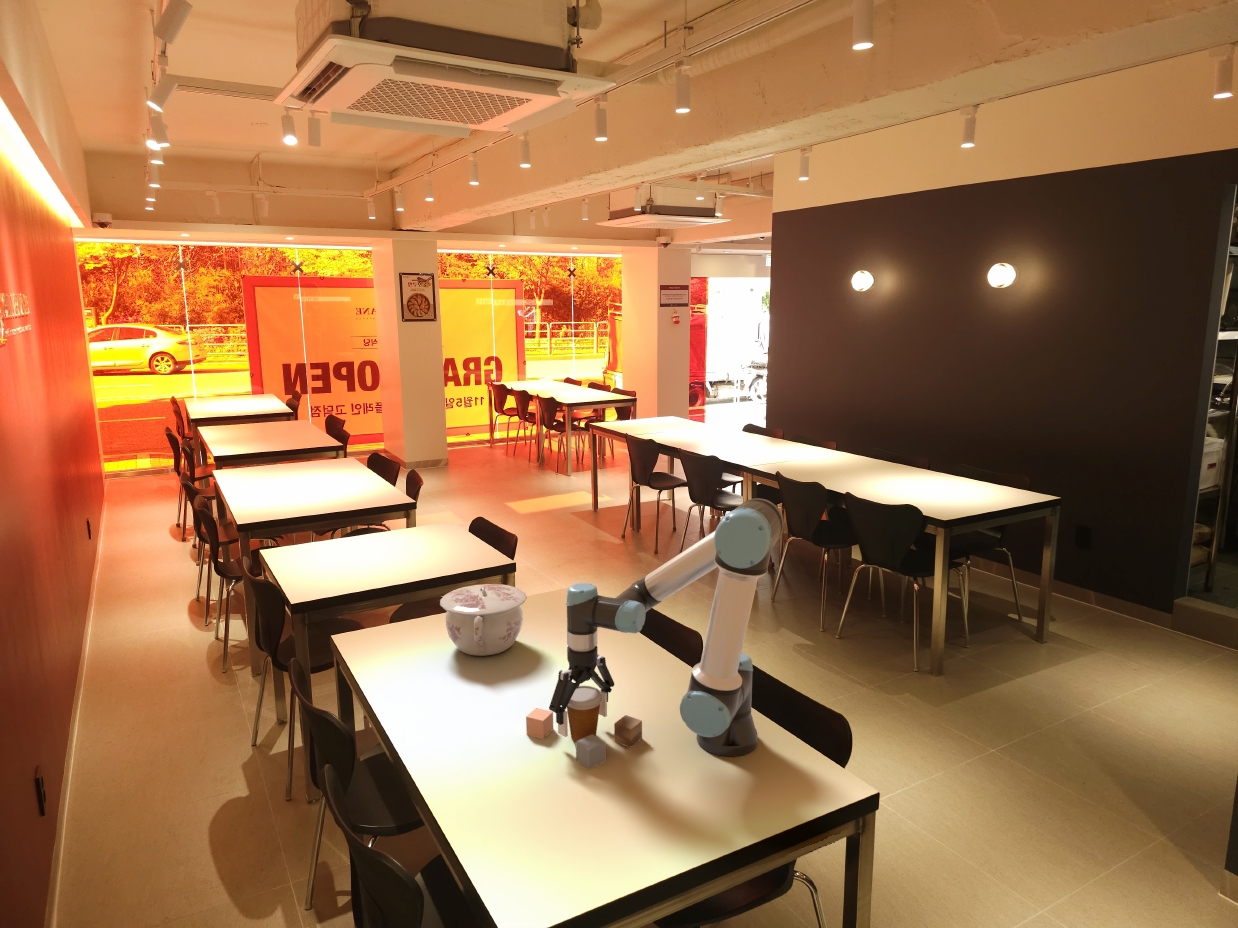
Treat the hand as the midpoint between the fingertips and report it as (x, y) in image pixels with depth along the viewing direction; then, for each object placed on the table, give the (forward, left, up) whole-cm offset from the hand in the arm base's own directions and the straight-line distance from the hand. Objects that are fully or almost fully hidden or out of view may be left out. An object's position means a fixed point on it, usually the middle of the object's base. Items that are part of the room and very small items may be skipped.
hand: (583, 724), depth 196 cm
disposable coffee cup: (0, 0, -4) cm, 4 cm away
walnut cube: (-9, -7, -4) cm, 12 cm away
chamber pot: (+63, -15, -4) cm, 65 cm away
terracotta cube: (+10, +6, -4) cm, 12 cm away
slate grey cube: (-9, +6, -4) cm, 11 cm away
